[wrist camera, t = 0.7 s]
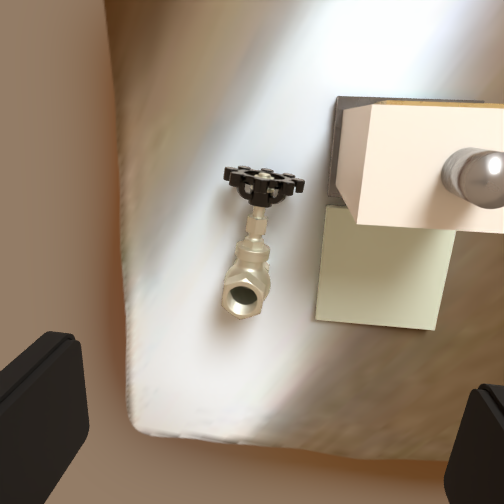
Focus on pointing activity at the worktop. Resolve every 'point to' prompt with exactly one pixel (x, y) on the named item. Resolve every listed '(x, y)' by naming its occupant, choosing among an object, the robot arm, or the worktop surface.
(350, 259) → the pad
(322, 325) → the worktop surface
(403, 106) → the pump housing
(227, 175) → the valve
